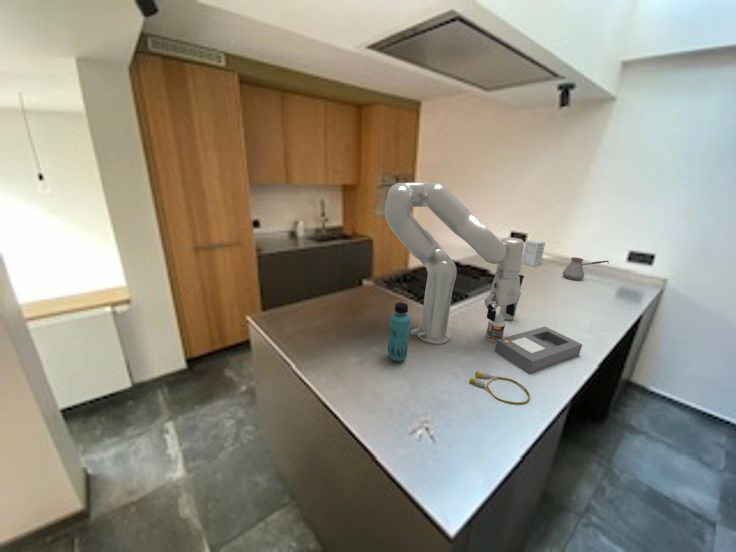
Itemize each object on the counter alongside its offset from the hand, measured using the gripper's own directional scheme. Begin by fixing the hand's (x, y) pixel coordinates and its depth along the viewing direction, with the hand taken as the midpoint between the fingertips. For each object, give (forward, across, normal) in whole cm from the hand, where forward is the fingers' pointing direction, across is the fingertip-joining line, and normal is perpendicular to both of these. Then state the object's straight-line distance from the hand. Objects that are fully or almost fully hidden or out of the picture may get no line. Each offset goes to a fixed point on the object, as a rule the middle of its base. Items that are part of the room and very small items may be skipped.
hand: (500, 317), depth 112 cm
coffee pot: (+12, +108, +32) cm, 113 cm away
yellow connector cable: (+10, -21, -20) cm, 31 cm away
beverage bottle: (+8, -42, +4) cm, 43 cm away
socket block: (+10, +6, -12) cm, 17 cm away
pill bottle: (+10, -1, +1) cm, 10 cm away
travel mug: (+10, +19, +12) cm, 24 cm away
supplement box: (+12, +109, +68) cm, 129 cm away
